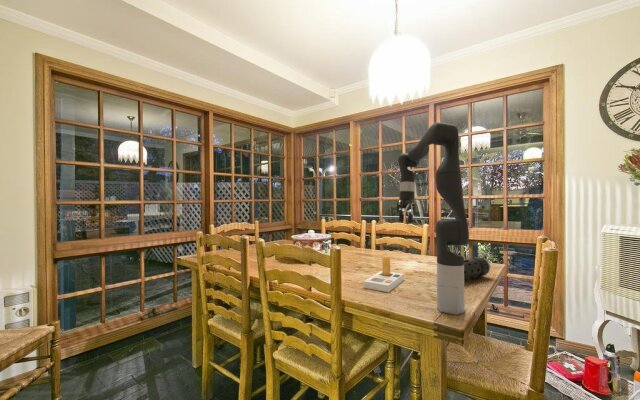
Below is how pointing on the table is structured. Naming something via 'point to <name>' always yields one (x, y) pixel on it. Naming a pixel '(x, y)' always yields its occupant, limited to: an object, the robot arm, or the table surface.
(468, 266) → the muzzle brake
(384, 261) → the plug
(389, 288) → the socket plate
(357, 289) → the table surface
